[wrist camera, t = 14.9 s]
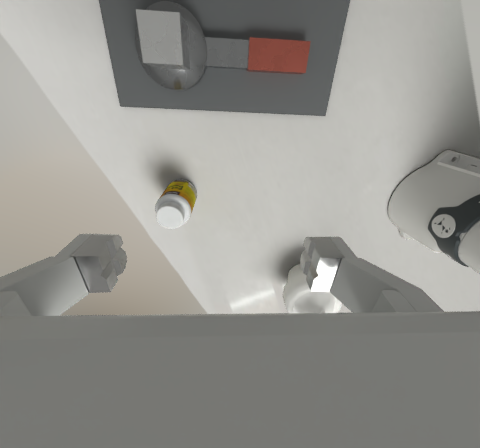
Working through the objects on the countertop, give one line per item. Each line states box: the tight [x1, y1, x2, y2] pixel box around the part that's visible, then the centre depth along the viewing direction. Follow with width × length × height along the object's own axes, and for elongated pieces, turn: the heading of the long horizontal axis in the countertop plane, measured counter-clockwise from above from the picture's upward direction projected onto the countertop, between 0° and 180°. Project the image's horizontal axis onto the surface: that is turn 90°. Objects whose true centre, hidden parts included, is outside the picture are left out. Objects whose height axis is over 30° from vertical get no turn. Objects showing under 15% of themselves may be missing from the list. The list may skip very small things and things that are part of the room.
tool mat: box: [99, 0, 350, 116], centre depth 29 cm, size 32×22×1 cm
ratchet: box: [135, 1, 311, 90], centre depth 29 cm, size 22×9×5 cm, turn 87°
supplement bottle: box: [155, 179, 197, 229], centre depth 37 cm, size 6×6×10 cm
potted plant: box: [283, 264, 342, 313], centre depth 42 cm, size 13×12×25 cm
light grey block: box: [136, 9, 190, 70], centre depth 26 cm, size 4×4×6 cm
